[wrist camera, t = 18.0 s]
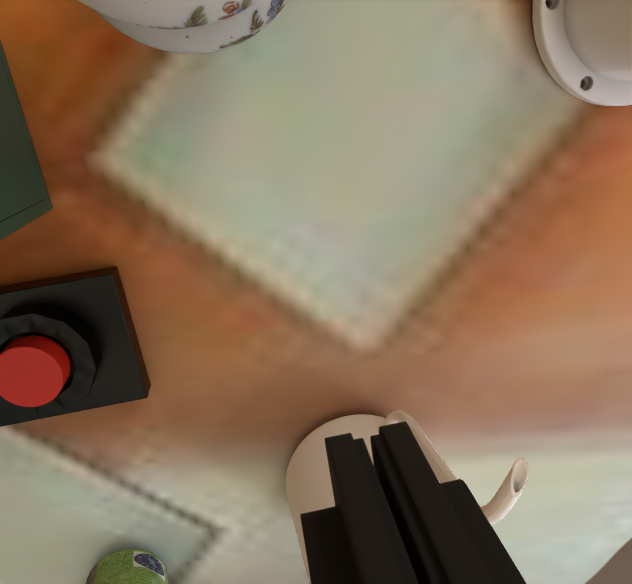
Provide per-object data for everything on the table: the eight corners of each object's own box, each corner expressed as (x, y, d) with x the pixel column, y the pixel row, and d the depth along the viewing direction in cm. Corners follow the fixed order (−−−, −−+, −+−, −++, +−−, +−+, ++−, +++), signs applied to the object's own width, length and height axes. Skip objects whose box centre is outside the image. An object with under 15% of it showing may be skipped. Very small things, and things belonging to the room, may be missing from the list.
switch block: (-9, 417, 38) (-32, 446, 35) (-58, 296, 35) (-88, 316, 32) (151, 386, 39) (143, 412, 36) (117, 265, 36) (105, 282, 33)
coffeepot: (477, 339, 42) (656, 514, 24) (364, 593, 48) (440, 876, 31) (343, 302, 39) (433, 468, 21) (244, 576, 46) (251, 873, 28)
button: (14, 398, 35) (3, 413, 33) (-8, 341, 33) (-20, 354, 32) (79, 386, 35) (71, 400, 33) (60, 329, 34) (51, 340, 32)
